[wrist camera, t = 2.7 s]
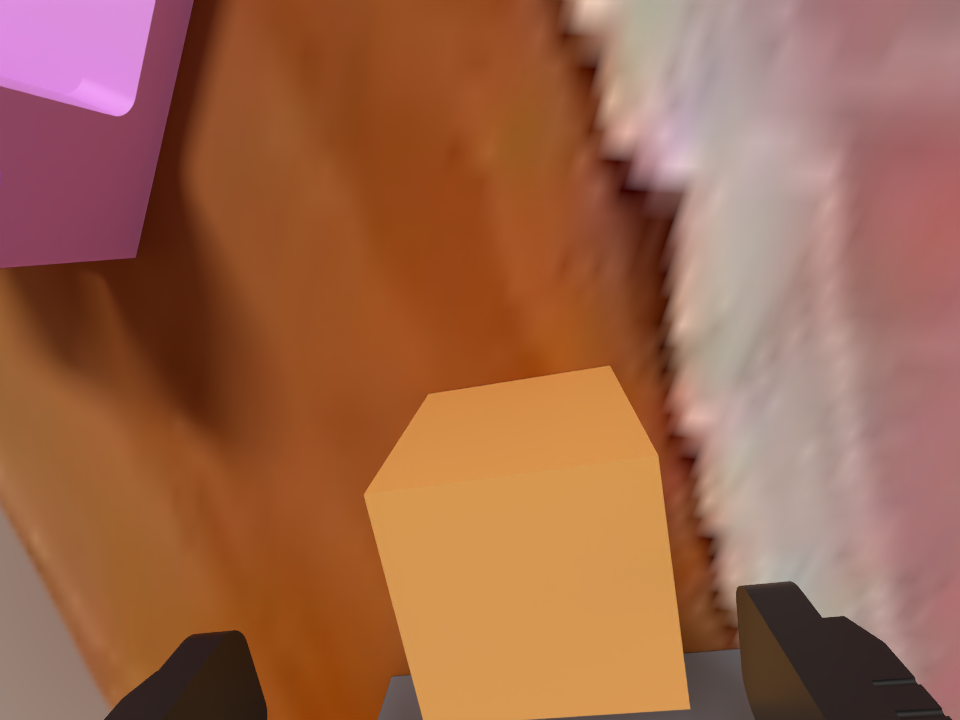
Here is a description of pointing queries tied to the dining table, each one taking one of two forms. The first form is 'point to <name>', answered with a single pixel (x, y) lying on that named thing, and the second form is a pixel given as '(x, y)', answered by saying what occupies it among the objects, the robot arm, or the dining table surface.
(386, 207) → the dining table surface
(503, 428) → the orange wooden cube
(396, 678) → the mounting plate
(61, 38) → the bracket
